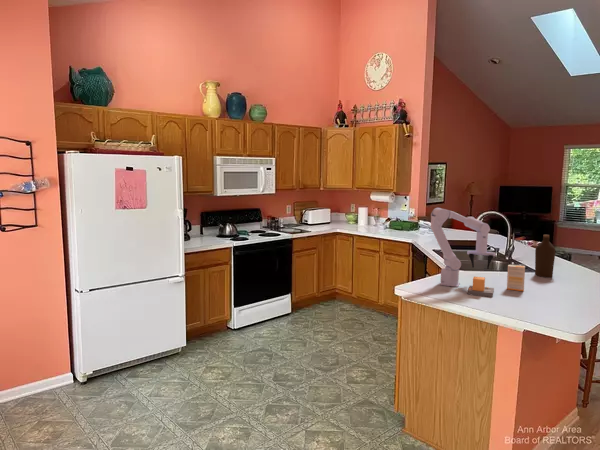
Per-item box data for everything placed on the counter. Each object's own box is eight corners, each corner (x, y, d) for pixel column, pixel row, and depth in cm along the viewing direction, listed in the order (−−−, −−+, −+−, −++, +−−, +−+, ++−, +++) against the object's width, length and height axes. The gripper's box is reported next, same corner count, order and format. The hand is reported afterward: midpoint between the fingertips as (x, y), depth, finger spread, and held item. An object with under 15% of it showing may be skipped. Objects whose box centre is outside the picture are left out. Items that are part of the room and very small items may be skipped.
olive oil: (549, 278, 256) (552, 236, 253) (530, 275, 264) (533, 234, 261) (556, 275, 263) (559, 235, 260) (538, 272, 271) (540, 233, 268)
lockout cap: (472, 290, 224) (473, 278, 223) (473, 287, 228) (474, 276, 228) (483, 291, 221) (484, 279, 220) (484, 288, 226) (485, 277, 225)
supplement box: (524, 289, 232) (525, 265, 231) (523, 291, 228) (525, 267, 226) (507, 287, 236) (508, 264, 235) (506, 289, 232) (507, 265, 231)
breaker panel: (467, 294, 224) (467, 289, 223) (469, 289, 233) (469, 284, 233) (492, 297, 218) (492, 292, 218) (493, 291, 228) (494, 286, 228)
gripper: (466, 244, 240) (465, 268, 242) (495, 246, 233) (494, 270, 235) (468, 242, 246) (467, 265, 248) (496, 244, 240) (494, 268, 241)
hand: (480, 267), depth 242 cm, fingers open, 7 cm apart
